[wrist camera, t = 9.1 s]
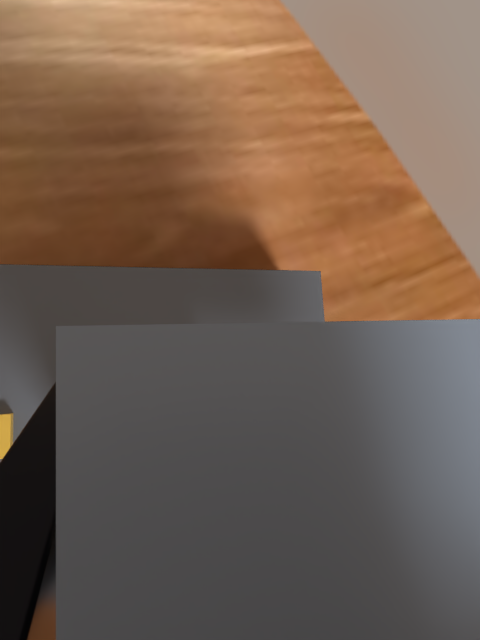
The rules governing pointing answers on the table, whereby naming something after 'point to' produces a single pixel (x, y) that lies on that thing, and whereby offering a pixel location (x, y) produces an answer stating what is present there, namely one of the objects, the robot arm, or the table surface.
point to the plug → (268, 481)
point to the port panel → (125, 314)
